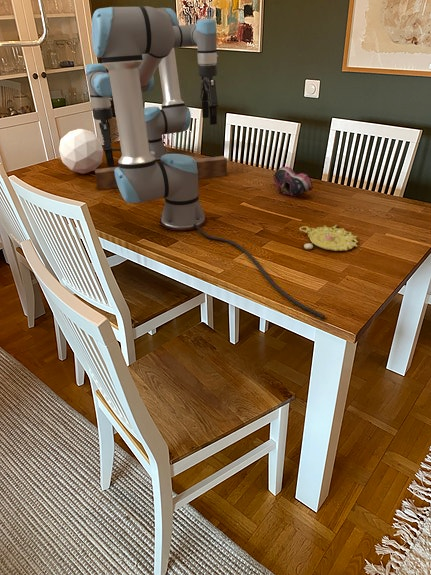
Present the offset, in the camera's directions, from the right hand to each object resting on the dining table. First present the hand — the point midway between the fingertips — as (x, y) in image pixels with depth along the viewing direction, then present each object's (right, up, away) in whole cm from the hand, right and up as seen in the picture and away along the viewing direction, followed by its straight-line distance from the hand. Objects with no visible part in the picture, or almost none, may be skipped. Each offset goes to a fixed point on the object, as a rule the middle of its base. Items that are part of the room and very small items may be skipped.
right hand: (110, 161), depth 184 cm
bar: (+21, -6, +10) cm, 24 cm away
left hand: (+42, +18, +1) cm, 45 cm away
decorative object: (+80, -37, -43) cm, 98 cm away
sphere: (-17, +2, +23) cm, 29 cm away
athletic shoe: (+73, -14, -7) cm, 75 cm away
